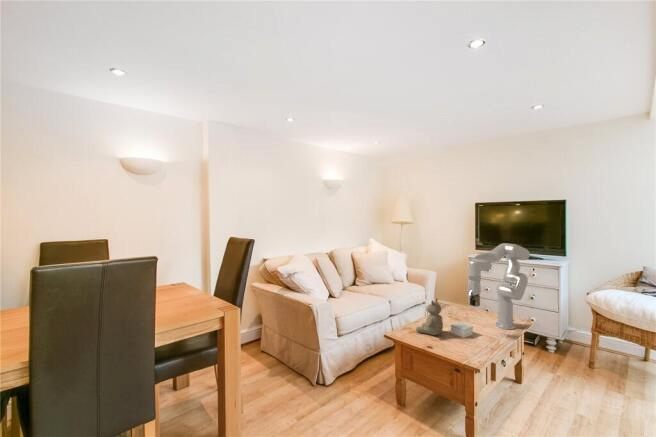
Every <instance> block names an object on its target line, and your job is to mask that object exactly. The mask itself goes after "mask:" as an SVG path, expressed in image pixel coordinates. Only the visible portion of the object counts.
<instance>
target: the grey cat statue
mask: <svg viewBox="0 0 656 437" xmlns="http://www.w3.org/2000/svg"><path fill="white" fill-rule="evenodd" d="M424 308H425V310H426V312H428V313H429V314H428V315H427V317H426V319H425V320H426V321H425V322H424V323H423V322H422V324H421V326H417V327H416V328H415V331H416V332H417V333H419V334H424V335H425V334H427V335H431V336H438V335H440V334H441V333H442V331H443V328H444V324H443V323H444V322H443V316H442V315H441V314H440V313H441V312H442V307H441V304H440V303H439V302H438V298H437V297H436V298H435V301H434V300H431V303H430V304H428V305H427V306H424Z"/></svg>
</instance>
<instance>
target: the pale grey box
mask: <svg viewBox="0 0 656 437" xmlns="http://www.w3.org/2000/svg"><path fill="white" fill-rule="evenodd" d="M449 326H450V333H451V334H452V335H455V336H457V337H460V338H463V339H464V338H468V337H470V336H473V331H474V329H473V328H474V326H472V325H470V324H466V323H464V322H461V321H458V322H455V323H452V324H449Z"/></svg>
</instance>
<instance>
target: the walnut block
mask: <svg viewBox="0 0 656 437" xmlns="http://www.w3.org/2000/svg"><path fill="white" fill-rule="evenodd" d="M472 295H473V294H472ZM468 299H469V300H468V302H469V304H468V305H469V306H471V307H475V308H477V307H480V306H481V295H475V299H474V300H475V305H470V297H469V296H468Z"/></svg>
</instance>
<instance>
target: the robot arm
mask: <svg viewBox="0 0 656 437" xmlns="http://www.w3.org/2000/svg"><path fill="white" fill-rule="evenodd" d="M530 255H531V253H530V251H529V250H528V249H527V248H525V247H523V246H520V245H518V244H516V243H509V242H508V243H507V242H506V243H505V242H503V243H500V244H498V245H497V246H496V247H494V248H493V249H491V250H490V251H486V252H483V253H479V254H477V255H475V256H474V257H473V258H472V259H471V260H469V261H468V282H467V294H468V298H469V297H470V305H469V306H471V305H475V300H474V299H475V295H479V296H481V295H480V294H481V290H482V288H481V281H482V280H481V279H482V278H481V277H482V274H481V273H482V272H488V271H490V270H491V269H492V267H493V264H492V263H494V262H499V261H501V260H502V259H503V258H506V261H507V264H506V265H507V266H506V268H505V271H504V274H503V277H502V279H503V280H502V281H504V282H505V283H500V284H498V285H497V286H496V294H497V306H498V307H497V311H498V312H497V316H498V317H497V319H498V320H497V322H495V326H496V327H498V328H500V329H505V330H515V329H516V325H515V324H514V321H515V319H514V304H513V303H514V302H513V300H515V301H520V300H522V299H523V297H524V296H525V291H526V288H527V286H528V283H529V282H528V280H529V279H528V276H527V275H526V273H523V272H520V270H521V265H520V262H519V261H528V259H529V258H530ZM472 294H473V295H472Z"/></svg>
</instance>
